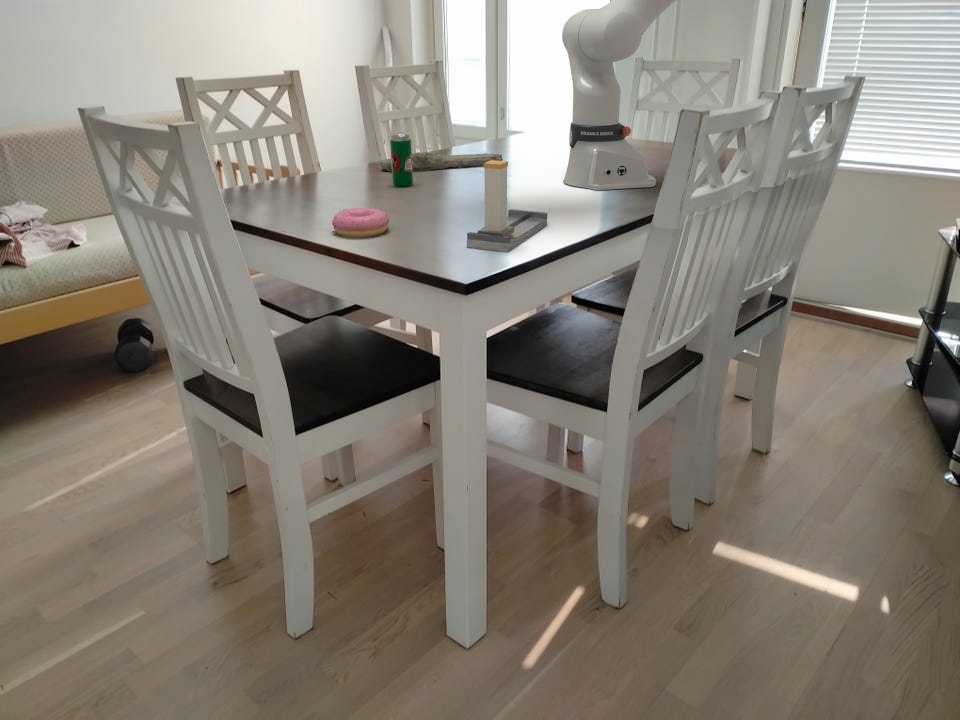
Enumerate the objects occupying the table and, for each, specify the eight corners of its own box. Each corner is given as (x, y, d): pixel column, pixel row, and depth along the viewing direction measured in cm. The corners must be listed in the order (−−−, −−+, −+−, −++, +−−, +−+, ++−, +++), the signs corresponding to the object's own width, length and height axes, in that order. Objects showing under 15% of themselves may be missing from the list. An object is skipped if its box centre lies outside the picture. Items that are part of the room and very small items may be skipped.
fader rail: (510, 221, 148) (510, 209, 147) (547, 225, 145) (547, 212, 144) (466, 247, 132) (466, 233, 131) (507, 252, 129) (507, 238, 128)
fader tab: (489, 229, 136) (488, 159, 130) (513, 232, 134) (514, 160, 129) (477, 236, 132) (476, 163, 126) (503, 239, 130) (503, 165, 124)
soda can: (410, 188, 179) (407, 137, 174) (390, 187, 180) (387, 136, 175) (415, 183, 183) (413, 134, 178) (396, 183, 184) (393, 133, 179)
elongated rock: (508, 171, 205) (496, 167, 213) (508, 152, 203) (497, 149, 212) (384, 173, 194) (377, 169, 203) (383, 152, 192) (377, 149, 201)
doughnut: (326, 229, 145) (324, 208, 143) (379, 222, 149) (378, 202, 148) (341, 242, 136) (339, 220, 134) (397, 235, 140) (396, 214, 139)
